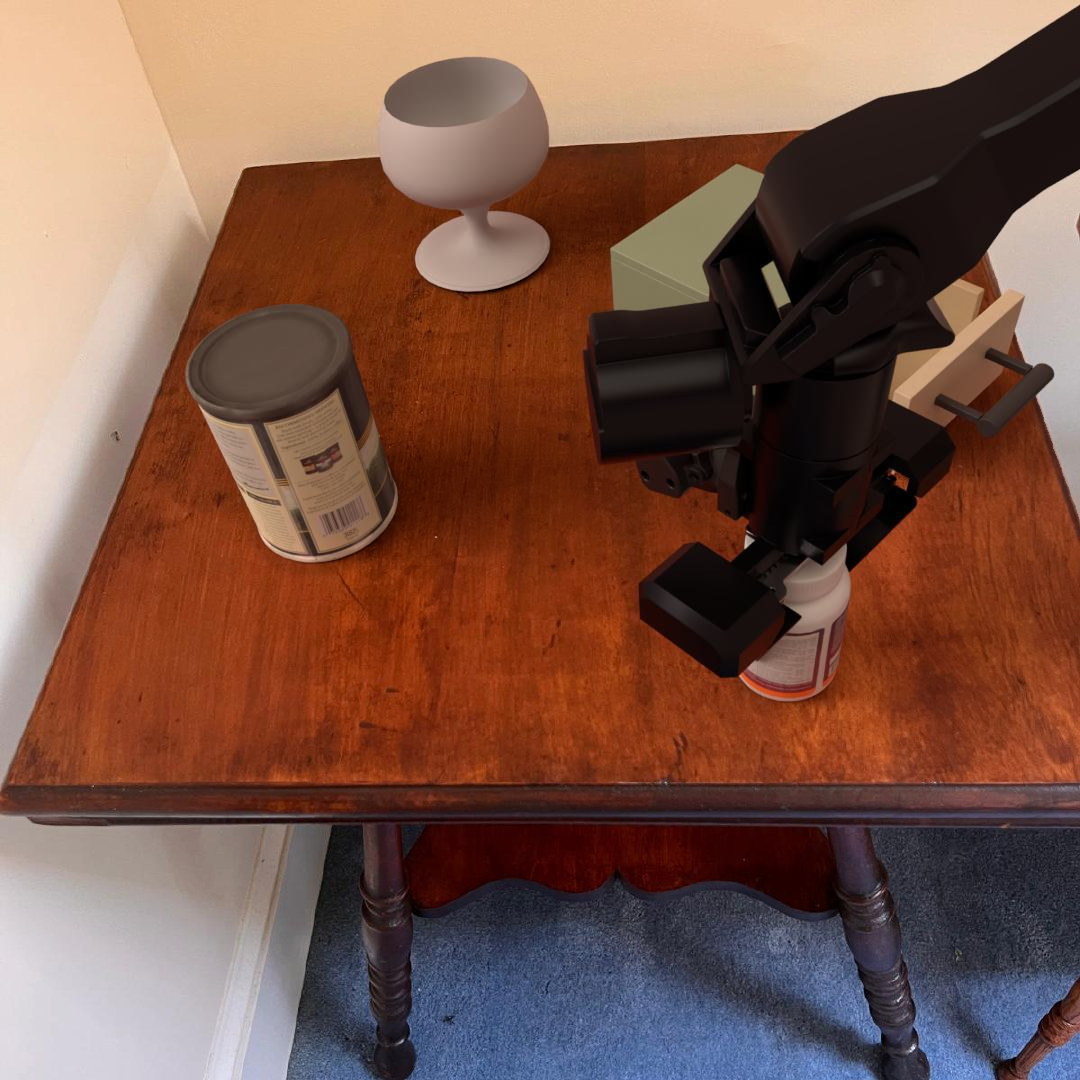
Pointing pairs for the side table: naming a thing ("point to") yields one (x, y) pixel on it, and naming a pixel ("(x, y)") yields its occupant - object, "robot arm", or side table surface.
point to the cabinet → (685, 247)
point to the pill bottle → (806, 633)
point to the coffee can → (296, 429)
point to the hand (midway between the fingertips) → (787, 621)
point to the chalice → (468, 166)
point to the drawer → (968, 363)
